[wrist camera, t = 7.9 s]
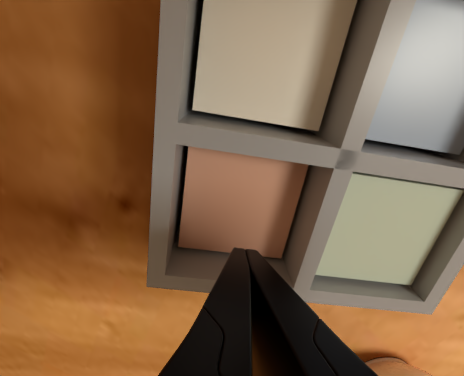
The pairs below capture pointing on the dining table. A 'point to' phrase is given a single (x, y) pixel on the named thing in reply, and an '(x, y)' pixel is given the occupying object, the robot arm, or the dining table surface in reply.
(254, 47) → the key cream
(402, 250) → the key sage
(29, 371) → the dining table surface
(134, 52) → the dining table surface
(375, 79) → the keypad base
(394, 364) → the lidded jar
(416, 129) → the key slate
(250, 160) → the key terracotta
